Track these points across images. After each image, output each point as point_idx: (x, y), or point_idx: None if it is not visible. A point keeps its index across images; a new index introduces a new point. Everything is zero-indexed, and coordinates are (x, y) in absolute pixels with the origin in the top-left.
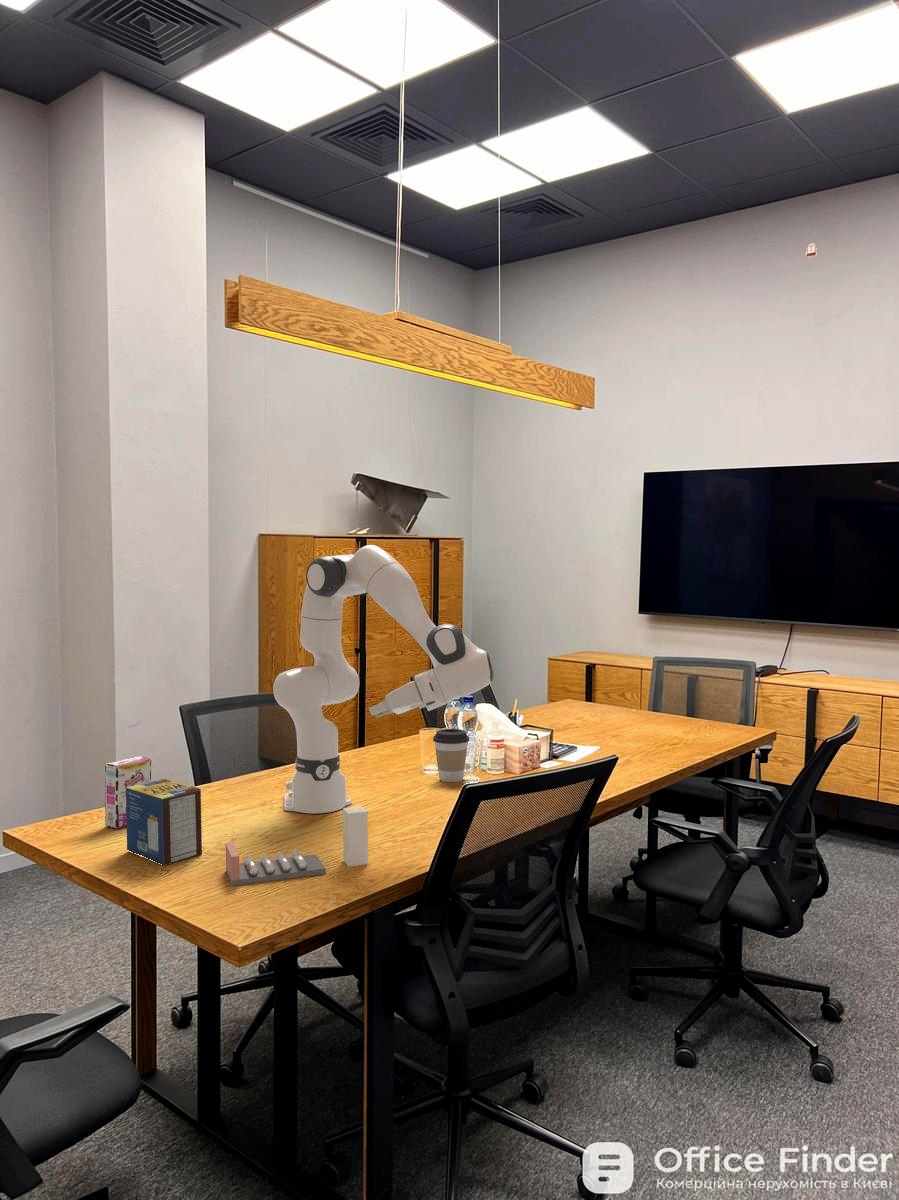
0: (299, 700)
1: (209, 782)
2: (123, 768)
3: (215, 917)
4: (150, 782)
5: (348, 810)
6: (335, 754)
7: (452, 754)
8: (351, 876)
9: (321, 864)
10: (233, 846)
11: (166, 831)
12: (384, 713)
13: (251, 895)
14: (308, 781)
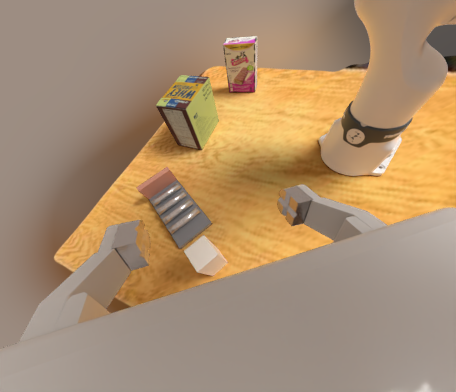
0: (376, 5)
1: (350, 68)
2: (228, 48)
3: (98, 217)
4: (195, 77)
5: (196, 245)
6: (392, 125)
7: None
8: (179, 274)
9: (188, 239)
10: (159, 175)
11: (170, 128)
12: (312, 225)
13: (133, 218)
14: (339, 134)
